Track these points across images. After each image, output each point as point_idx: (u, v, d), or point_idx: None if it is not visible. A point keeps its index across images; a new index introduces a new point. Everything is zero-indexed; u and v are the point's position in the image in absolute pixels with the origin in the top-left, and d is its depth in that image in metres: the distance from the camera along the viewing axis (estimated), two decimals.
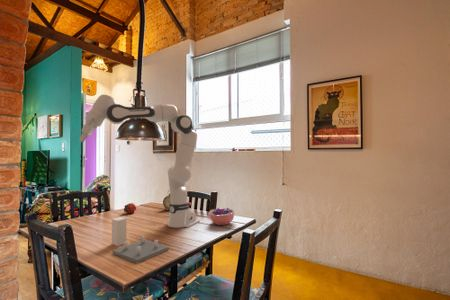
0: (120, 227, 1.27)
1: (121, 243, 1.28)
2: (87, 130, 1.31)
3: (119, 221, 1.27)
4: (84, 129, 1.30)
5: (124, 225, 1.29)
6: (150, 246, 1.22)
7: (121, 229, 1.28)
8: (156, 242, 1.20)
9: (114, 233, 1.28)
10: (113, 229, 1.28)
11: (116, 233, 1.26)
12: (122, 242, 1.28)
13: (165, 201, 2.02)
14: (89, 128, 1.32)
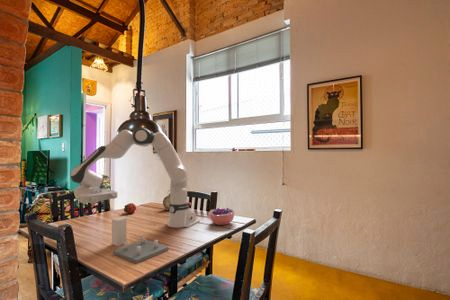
0: (120, 227, 1.27)
1: (121, 243, 1.28)
2: (81, 198, 1.32)
3: (119, 221, 1.27)
4: (81, 201, 1.31)
5: (124, 225, 1.29)
6: (150, 246, 1.22)
7: (121, 229, 1.28)
8: (156, 242, 1.20)
9: (114, 233, 1.28)
10: (113, 229, 1.28)
11: (116, 233, 1.26)
12: (122, 242, 1.28)
13: (165, 201, 2.01)
14: (80, 197, 1.32)
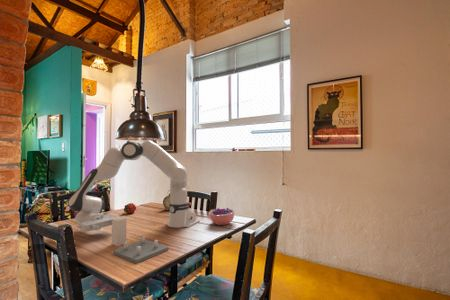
0: (120, 227, 1.27)
1: (121, 243, 1.28)
2: (83, 227, 1.31)
3: (119, 221, 1.27)
4: (83, 229, 1.31)
5: (124, 225, 1.29)
6: (150, 246, 1.22)
7: (121, 229, 1.28)
8: (156, 242, 1.20)
9: (114, 233, 1.28)
10: (113, 229, 1.28)
11: (116, 233, 1.27)
12: (122, 242, 1.28)
13: (165, 201, 2.02)
14: (82, 225, 1.32)
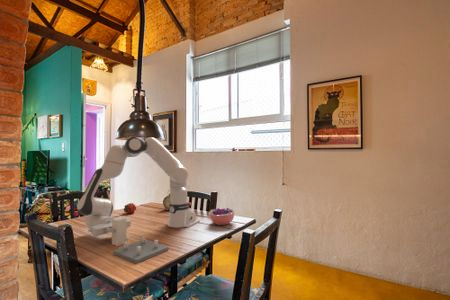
0: (120, 227, 1.27)
1: (121, 243, 1.28)
2: (94, 230, 1.24)
3: (119, 221, 1.27)
4: (94, 233, 1.24)
5: (124, 225, 1.29)
6: (150, 246, 1.22)
7: (121, 229, 1.28)
8: (156, 242, 1.20)
9: (114, 233, 1.28)
10: None
11: (116, 233, 1.26)
12: (122, 242, 1.28)
13: (165, 201, 2.02)
14: (93, 229, 1.25)
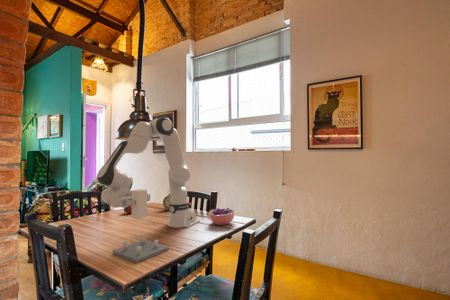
0: (140, 198, 1.18)
1: (142, 216, 1.18)
2: (113, 202, 1.15)
3: (140, 192, 1.17)
4: (113, 205, 1.15)
5: (145, 197, 1.20)
6: (150, 246, 1.22)
7: (142, 201, 1.18)
8: (156, 242, 1.20)
9: (134, 205, 1.18)
10: None
11: (136, 205, 1.17)
12: (143, 215, 1.19)
13: (165, 201, 2.01)
14: (112, 201, 1.16)
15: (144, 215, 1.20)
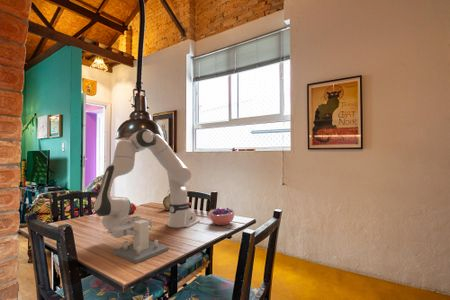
0: (142, 230, 1.17)
1: (143, 248, 1.18)
2: (115, 232, 1.14)
3: (141, 224, 1.17)
4: (115, 235, 1.14)
5: (146, 228, 1.19)
6: (150, 246, 1.22)
7: (144, 232, 1.18)
8: (156, 242, 1.20)
9: (135, 237, 1.18)
10: None
11: (138, 237, 1.16)
12: (144, 247, 1.18)
13: (165, 201, 2.01)
14: (113, 231, 1.15)
15: (146, 247, 1.19)
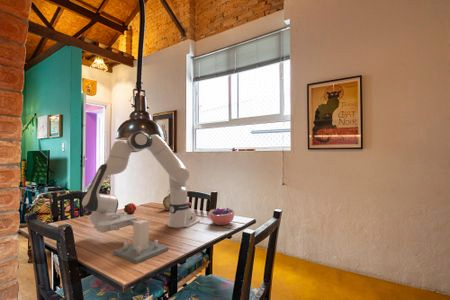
0: (142, 230, 1.17)
1: (143, 248, 1.18)
2: (100, 227, 1.21)
3: (141, 224, 1.17)
4: (100, 230, 1.21)
5: (146, 228, 1.19)
6: (150, 246, 1.22)
7: (144, 232, 1.18)
8: (156, 242, 1.20)
9: (135, 237, 1.18)
10: (135, 233, 1.18)
11: (138, 237, 1.16)
12: (144, 247, 1.18)
13: (165, 201, 2.01)
14: (99, 226, 1.22)
15: (146, 247, 1.19)
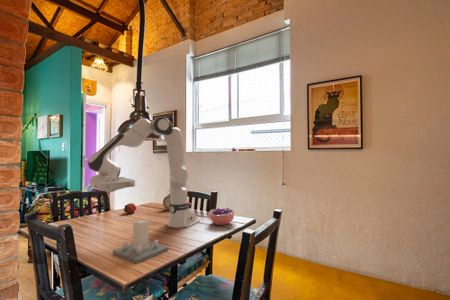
0: (142, 230, 1.17)
1: (143, 248, 1.18)
2: (99, 185, 1.25)
3: (141, 224, 1.17)
4: (100, 188, 1.25)
5: (146, 228, 1.19)
6: (150, 246, 1.22)
7: (144, 232, 1.18)
8: (156, 242, 1.20)
9: (135, 237, 1.18)
10: (135, 233, 1.18)
11: (138, 237, 1.16)
12: (144, 247, 1.18)
13: (165, 201, 2.02)
14: (98, 184, 1.26)
15: (146, 247, 1.19)
